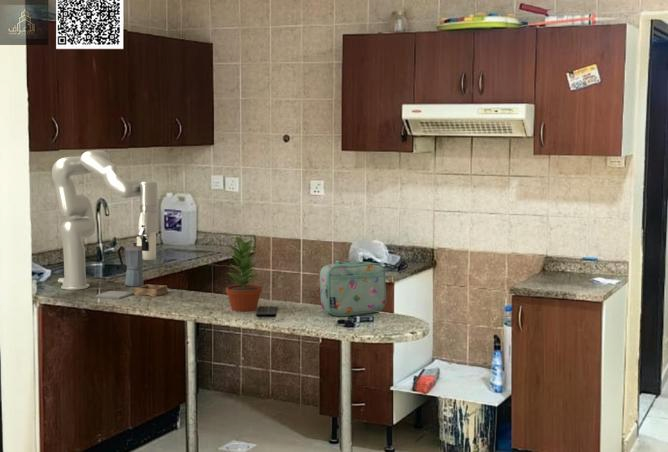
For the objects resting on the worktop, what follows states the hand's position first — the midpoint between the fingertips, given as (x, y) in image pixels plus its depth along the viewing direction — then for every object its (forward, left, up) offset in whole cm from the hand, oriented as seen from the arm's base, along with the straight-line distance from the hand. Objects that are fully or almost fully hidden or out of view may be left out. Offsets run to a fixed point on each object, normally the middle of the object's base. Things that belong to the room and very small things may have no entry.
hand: (149, 249), depth 438 cm
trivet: (-13, -9, -20) cm, 25 cm away
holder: (0, 0, -20) cm, 20 cm away
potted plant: (+54, -19, -20) cm, 61 cm away
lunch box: (+99, -14, -20) cm, 102 cm away
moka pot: (-19, +17, -20) cm, 32 cm away
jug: (-1, 0, -4) cm, 4 cm away
